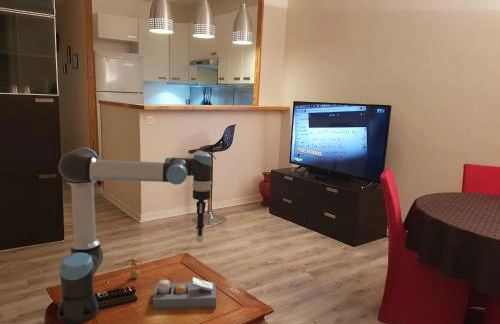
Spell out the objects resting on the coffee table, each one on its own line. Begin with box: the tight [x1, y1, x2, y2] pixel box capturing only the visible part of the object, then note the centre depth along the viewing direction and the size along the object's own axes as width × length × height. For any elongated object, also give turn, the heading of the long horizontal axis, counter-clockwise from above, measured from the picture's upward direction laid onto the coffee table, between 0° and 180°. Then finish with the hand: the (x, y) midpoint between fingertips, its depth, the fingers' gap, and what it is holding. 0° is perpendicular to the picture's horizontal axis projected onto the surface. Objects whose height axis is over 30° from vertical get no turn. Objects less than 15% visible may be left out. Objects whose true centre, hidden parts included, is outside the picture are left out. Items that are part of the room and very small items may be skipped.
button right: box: [175, 284, 186, 294], centre depth 171 cm, size 5×5×4 cm
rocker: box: [191, 276, 213, 292], centre depth 172 cm, size 9×6×2 cm, turn 97°
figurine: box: [125, 255, 144, 279], centre depth 188 cm, size 8×6×12 cm
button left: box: [158, 279, 171, 295], centre depth 170 cm, size 5×5×4 cm
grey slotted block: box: [152, 281, 217, 311], centre depth 172 cm, size 26×14×6 cm, turn 97°
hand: (199, 241), depth 174 cm, fingers closed
